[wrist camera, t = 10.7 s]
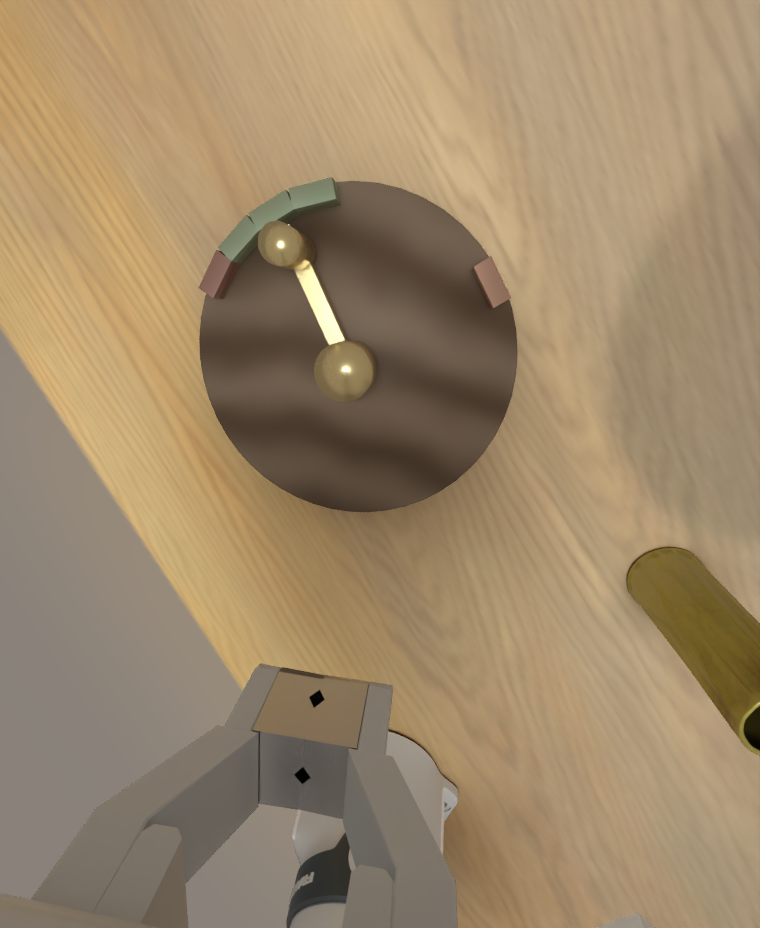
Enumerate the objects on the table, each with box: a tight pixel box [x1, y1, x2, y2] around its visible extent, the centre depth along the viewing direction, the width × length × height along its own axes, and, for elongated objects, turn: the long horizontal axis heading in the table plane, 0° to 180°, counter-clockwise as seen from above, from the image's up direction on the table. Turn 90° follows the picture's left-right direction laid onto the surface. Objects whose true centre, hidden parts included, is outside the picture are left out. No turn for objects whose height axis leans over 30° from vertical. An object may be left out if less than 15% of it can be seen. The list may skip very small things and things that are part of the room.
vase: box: [627, 548, 760, 756], centre depth 30 cm, size 6×6×14 cm
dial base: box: [199, 177, 517, 512], centre depth 32 cm, size 24×24×4 cm
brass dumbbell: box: [258, 221, 378, 402], centre depth 29 cm, size 12×4×4 cm, turn 24°
